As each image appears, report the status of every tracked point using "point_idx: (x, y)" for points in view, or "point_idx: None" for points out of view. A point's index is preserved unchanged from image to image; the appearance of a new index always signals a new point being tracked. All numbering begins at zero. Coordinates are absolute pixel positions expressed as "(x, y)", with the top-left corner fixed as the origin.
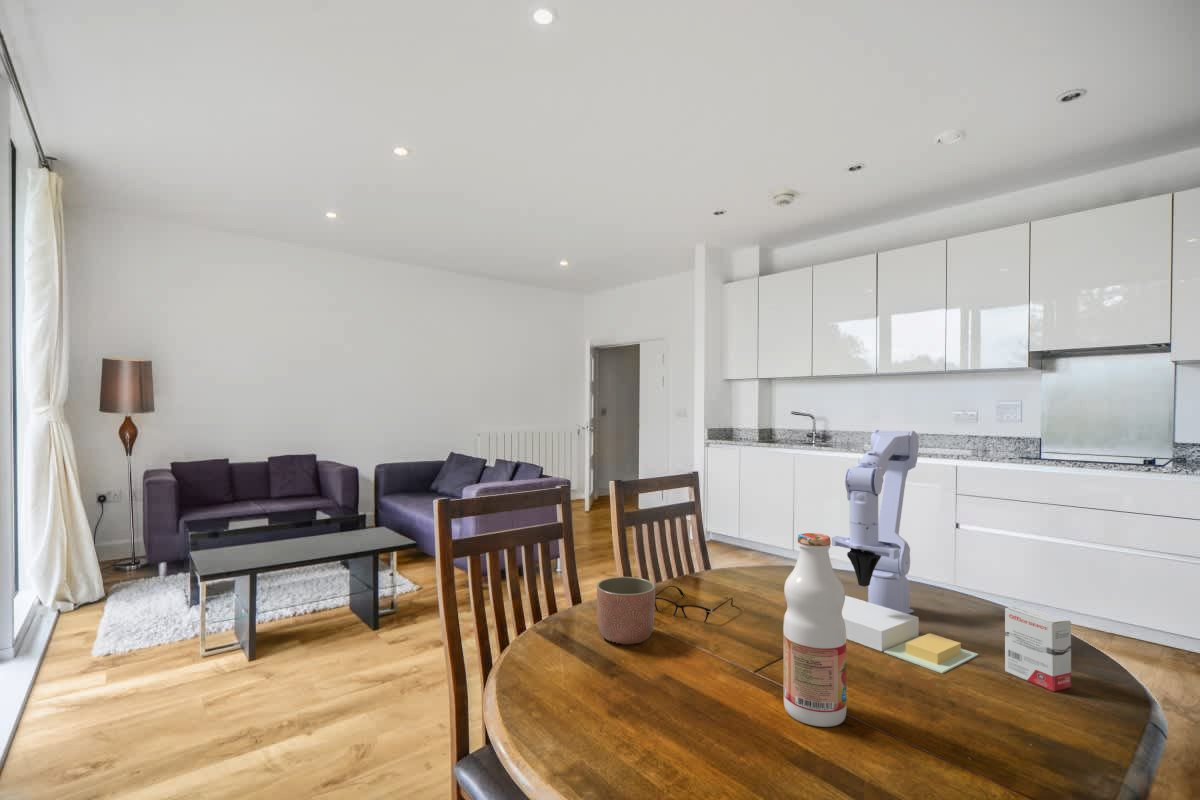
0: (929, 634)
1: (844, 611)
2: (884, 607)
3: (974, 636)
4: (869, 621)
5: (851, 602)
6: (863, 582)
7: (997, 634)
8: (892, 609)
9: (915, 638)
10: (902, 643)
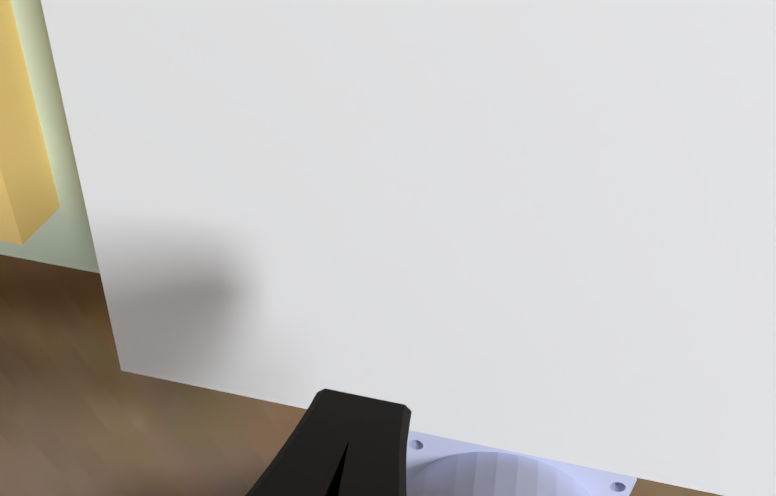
0: (5, 223)
1: (585, 117)
2: None
3: (54, 430)
4: (253, 14)
5: (627, 383)
6: (303, 427)
7: (33, 492)
8: None
9: None
10: None
